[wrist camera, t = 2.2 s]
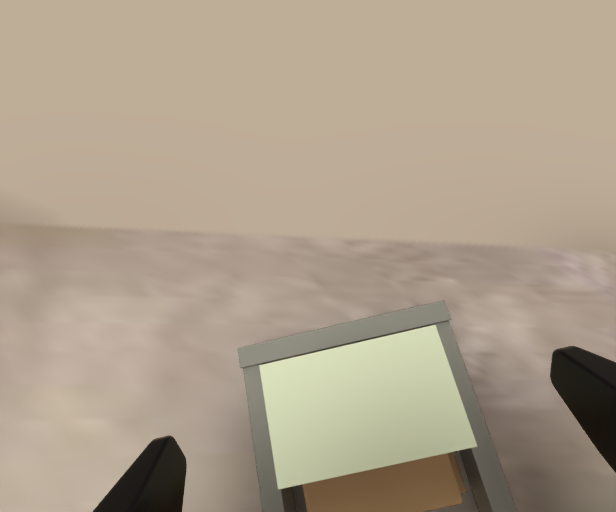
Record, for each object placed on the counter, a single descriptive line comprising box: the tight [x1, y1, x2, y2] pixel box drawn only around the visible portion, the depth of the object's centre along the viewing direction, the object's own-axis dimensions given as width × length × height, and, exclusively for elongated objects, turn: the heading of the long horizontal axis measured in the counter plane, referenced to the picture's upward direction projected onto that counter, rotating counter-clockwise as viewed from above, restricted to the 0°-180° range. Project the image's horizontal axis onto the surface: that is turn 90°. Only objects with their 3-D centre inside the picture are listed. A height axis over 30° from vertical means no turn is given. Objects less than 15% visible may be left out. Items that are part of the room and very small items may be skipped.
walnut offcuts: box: [302, 452, 467, 512], centre depth 17 cm, size 4×8×3 cm, turn 102°
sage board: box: [259, 325, 478, 489], centre depth 14 cm, size 3×5×11 cm, turn 102°
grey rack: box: [238, 300, 518, 512], centre depth 17 cm, size 10×11×3 cm
